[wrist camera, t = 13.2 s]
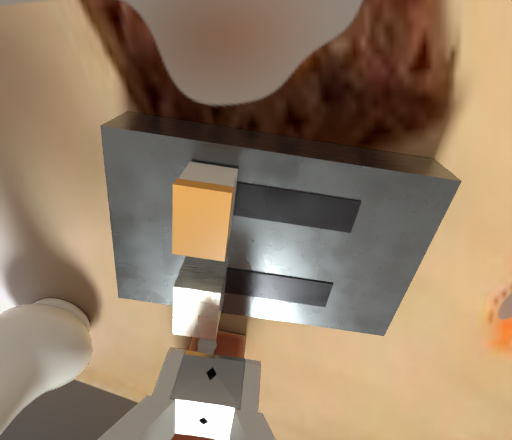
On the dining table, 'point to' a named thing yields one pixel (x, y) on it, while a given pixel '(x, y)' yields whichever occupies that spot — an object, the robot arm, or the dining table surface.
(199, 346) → the orange retro radio
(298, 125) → the dining table surface
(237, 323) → the dining table surface
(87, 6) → the dining table surface
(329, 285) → the box
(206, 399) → the robot arm
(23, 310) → the flower vase
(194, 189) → the block
